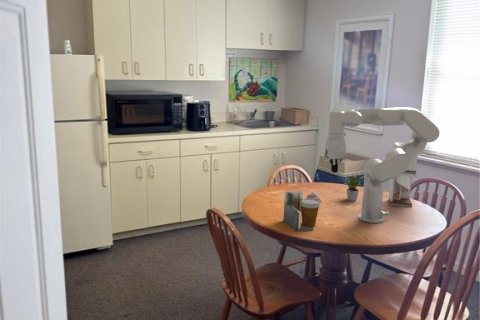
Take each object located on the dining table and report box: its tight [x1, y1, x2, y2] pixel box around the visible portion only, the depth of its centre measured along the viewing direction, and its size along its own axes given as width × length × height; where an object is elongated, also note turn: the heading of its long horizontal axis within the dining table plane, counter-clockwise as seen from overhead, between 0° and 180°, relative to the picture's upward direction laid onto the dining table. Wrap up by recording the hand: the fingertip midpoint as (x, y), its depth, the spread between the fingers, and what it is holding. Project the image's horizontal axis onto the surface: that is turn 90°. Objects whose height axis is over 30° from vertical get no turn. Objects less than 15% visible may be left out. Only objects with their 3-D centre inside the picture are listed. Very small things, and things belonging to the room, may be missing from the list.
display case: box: [388, 141, 419, 208], centre depth 234 cm, size 11×11×35 cm
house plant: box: [343, 173, 364, 202], centre depth 240 cm, size 14×14×16 cm
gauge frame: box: [282, 190, 314, 232], centre depth 197 cm, size 10×15×15 cm, turn 16°
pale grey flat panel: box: [290, 193, 302, 229], centre depth 197 cm, size 1×13×14 cm, turn 16°
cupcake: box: [305, 190, 323, 210], centre depth 223 cm, size 9×9×10 cm
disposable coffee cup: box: [300, 198, 321, 228], centre depth 199 cm, size 10×10×12 cm
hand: (334, 172), depth 205 cm, fingers closed
